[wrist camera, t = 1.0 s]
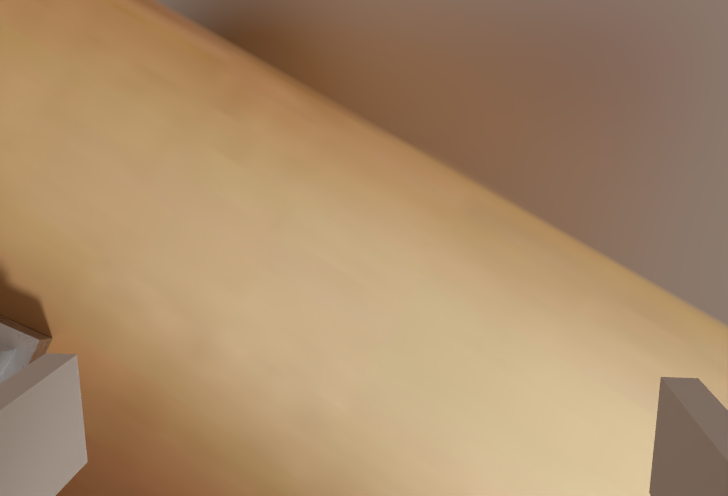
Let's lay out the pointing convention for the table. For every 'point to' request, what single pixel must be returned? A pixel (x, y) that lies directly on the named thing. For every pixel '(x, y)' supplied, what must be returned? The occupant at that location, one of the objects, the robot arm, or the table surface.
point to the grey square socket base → (19, 347)
